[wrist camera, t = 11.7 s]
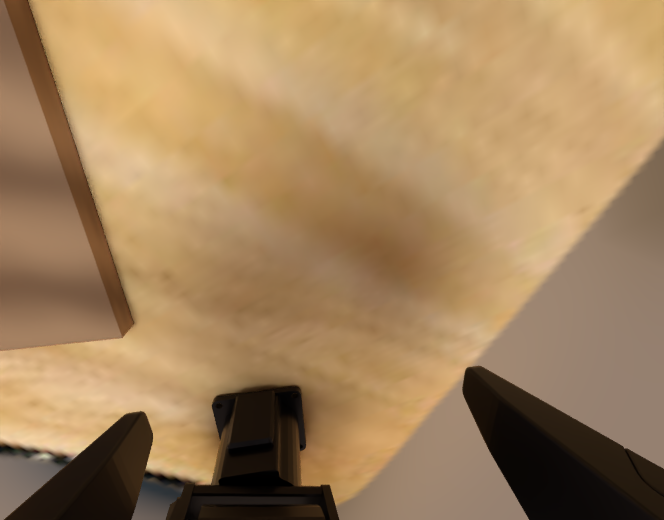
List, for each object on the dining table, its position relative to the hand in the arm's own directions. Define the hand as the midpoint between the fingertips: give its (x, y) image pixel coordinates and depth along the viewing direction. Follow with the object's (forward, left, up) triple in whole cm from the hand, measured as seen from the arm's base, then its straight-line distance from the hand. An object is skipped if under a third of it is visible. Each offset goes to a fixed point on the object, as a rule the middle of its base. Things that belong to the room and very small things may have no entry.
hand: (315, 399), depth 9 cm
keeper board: (+6, +18, -12) cm, 22 cm away
